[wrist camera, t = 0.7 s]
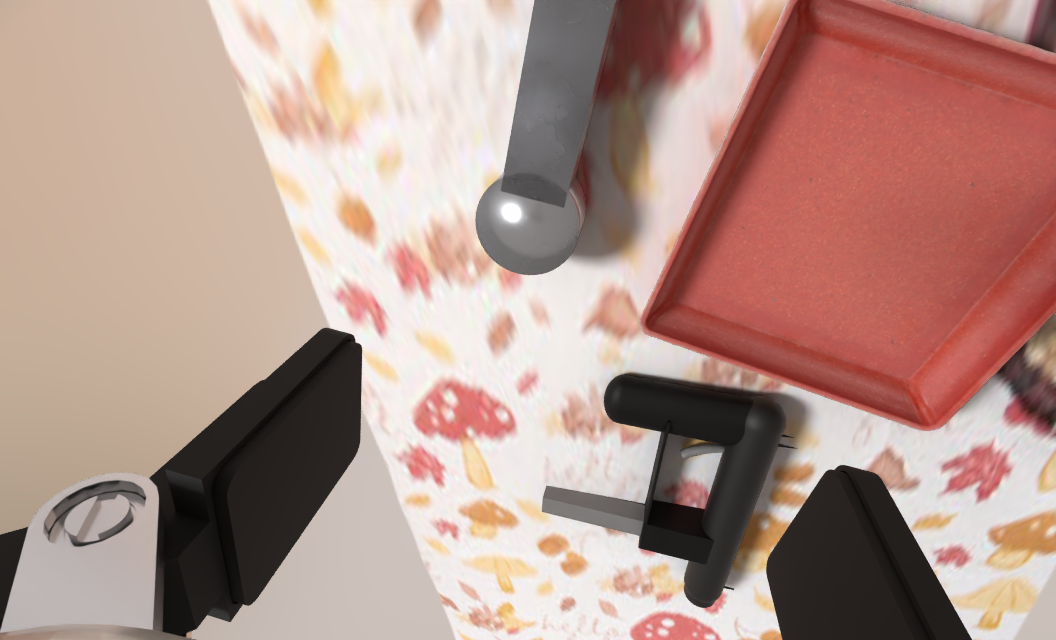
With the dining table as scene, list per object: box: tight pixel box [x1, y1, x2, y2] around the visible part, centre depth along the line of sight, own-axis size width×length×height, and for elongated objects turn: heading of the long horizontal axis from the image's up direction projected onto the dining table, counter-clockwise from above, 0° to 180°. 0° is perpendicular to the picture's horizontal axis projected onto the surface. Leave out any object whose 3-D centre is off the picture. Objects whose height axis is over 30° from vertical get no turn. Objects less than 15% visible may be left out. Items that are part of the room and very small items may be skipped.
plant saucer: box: [639, 0, 1056, 431], centre depth 26 cm, size 18×18×3 cm
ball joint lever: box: [476, 0, 620, 275], centre depth 26 cm, size 16×6×4 cm, turn 168°
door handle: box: [542, 375, 797, 608], centre depth 38 cm, size 3×20×16 cm
